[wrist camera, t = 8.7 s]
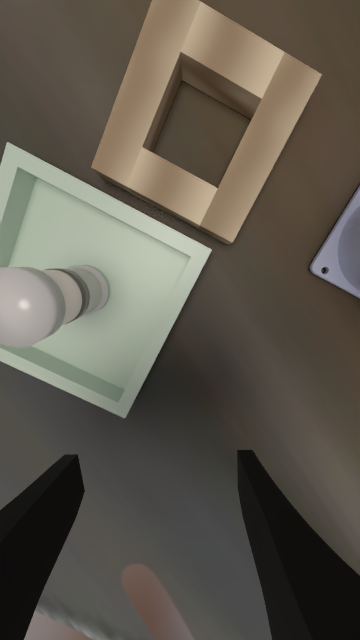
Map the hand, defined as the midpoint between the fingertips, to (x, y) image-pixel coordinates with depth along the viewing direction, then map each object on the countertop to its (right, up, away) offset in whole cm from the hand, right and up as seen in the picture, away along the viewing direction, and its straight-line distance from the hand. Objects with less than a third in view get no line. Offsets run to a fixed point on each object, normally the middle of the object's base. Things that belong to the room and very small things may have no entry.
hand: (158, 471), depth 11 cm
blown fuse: (-6, +9, +8) cm, 13 cm away
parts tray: (-6, +9, +8) cm, 14 cm away
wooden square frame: (+2, +19, +6) cm, 20 cm away
